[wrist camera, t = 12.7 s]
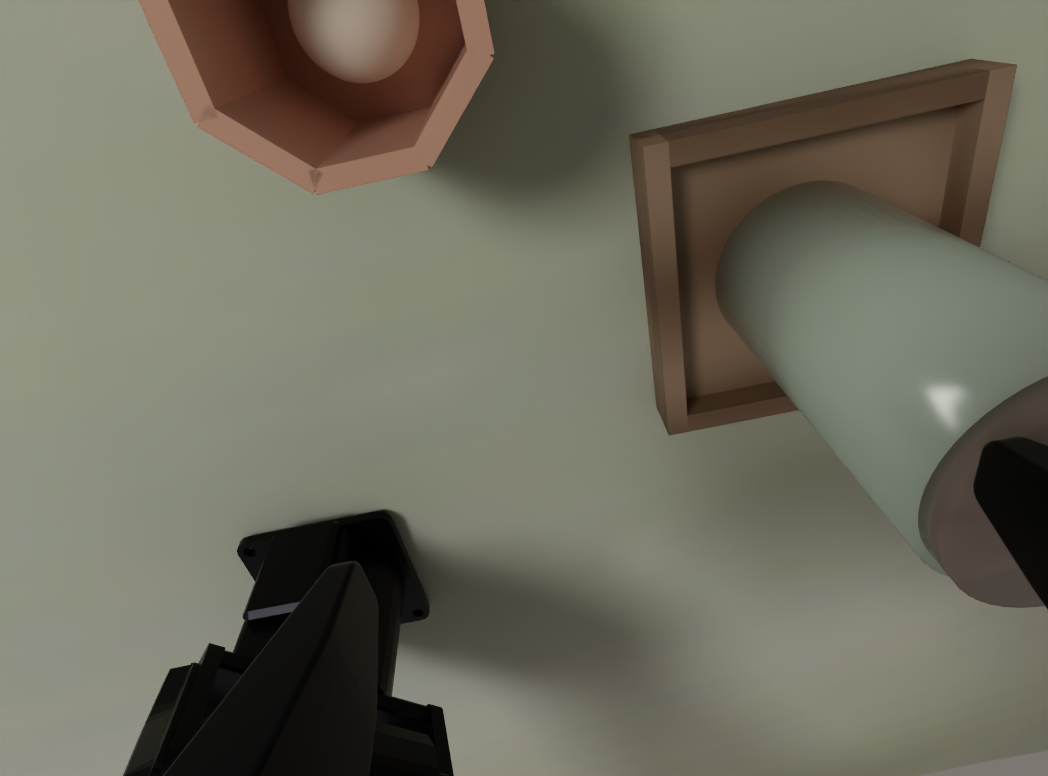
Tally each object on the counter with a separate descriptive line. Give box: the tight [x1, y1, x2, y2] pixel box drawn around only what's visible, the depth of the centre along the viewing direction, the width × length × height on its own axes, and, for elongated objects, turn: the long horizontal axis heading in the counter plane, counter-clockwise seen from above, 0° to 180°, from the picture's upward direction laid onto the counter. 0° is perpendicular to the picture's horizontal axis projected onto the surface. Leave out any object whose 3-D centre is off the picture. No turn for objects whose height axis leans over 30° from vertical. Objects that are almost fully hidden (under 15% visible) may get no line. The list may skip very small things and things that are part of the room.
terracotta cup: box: [138, 0, 495, 195], centre depth 14 cm, size 6×6×6 cm
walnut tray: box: [629, 59, 1017, 435], centre depth 20 cm, size 10×10×2 cm
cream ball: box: [287, 0, 419, 83], centre depth 15 cm, size 3×3×3 cm
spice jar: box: [715, 180, 1048, 608], centre depth 16 cm, size 6×6×11 cm
